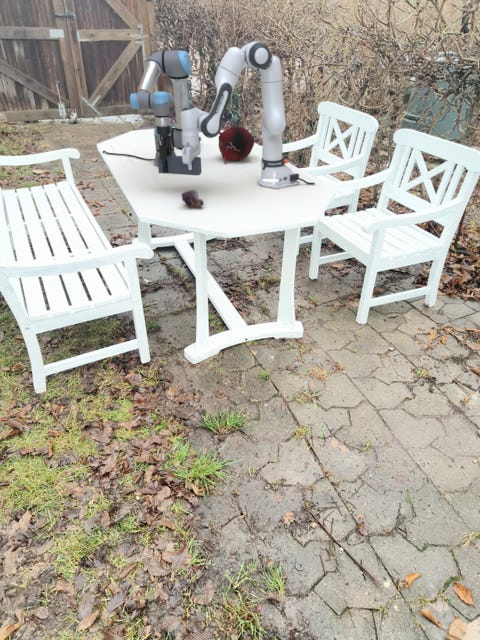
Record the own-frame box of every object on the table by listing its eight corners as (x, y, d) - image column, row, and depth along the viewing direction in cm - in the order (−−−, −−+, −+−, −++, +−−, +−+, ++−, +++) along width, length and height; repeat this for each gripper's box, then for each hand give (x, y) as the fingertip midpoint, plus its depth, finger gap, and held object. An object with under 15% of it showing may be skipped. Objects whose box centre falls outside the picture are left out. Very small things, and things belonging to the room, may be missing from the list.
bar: (158, 173, 244) (157, 157, 239) (162, 170, 248) (160, 154, 243) (199, 175, 240) (198, 159, 235) (201, 172, 244) (200, 157, 239)
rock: (197, 203, 236) (179, 206, 232) (195, 186, 232) (177, 189, 228) (206, 207, 226) (187, 210, 222) (204, 189, 223) (185, 192, 219)
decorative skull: (215, 132, 306) (215, 129, 282) (249, 124, 305) (251, 121, 281) (222, 164, 313) (222, 164, 289) (255, 157, 312) (258, 156, 288)
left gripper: (164, 129, 224) (168, 176, 237) (175, 122, 238) (179, 166, 251) (149, 128, 225) (155, 175, 238) (162, 121, 239) (166, 166, 253)
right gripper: (190, 145, 224) (192, 173, 232) (201, 136, 240) (203, 163, 248) (178, 145, 225) (180, 173, 233) (190, 136, 241) (192, 162, 249)
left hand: (167, 170), depth 245 cm, fingers closed on bar, 5 cm apart
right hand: (192, 167), depth 241 cm, fingers closed on bar, 5 cm apart
